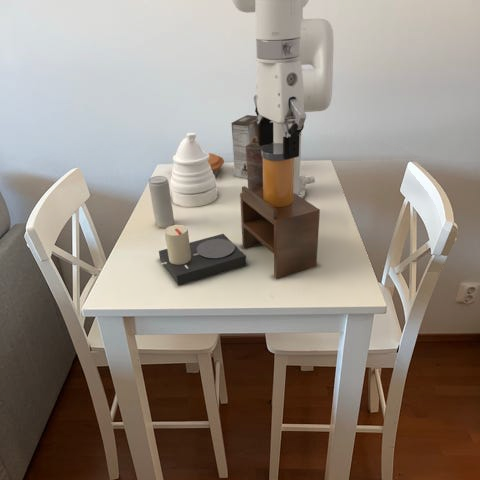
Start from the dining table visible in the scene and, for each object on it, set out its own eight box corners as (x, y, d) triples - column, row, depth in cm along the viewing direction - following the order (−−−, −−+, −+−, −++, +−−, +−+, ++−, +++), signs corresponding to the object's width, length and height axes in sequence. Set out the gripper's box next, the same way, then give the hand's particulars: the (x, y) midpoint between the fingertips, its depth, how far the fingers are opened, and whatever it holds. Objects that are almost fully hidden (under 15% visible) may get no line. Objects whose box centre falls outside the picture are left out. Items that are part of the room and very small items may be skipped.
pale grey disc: (225, 236, 109) (225, 235, 108) (241, 252, 102) (241, 251, 102) (191, 246, 106) (190, 244, 106) (205, 262, 100) (205, 261, 99)
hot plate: (223, 242, 111) (223, 232, 110) (246, 265, 103) (246, 255, 101) (153, 262, 106) (152, 252, 104) (171, 288, 97) (169, 277, 96)
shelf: (279, 236, 113) (279, 175, 103) (316, 266, 101) (320, 200, 92) (242, 246, 110) (239, 185, 100) (276, 278, 98) (276, 212, 89)
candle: (244, 228, 117) (241, 147, 105) (254, 215, 122) (251, 137, 110) (274, 231, 115) (273, 149, 102) (282, 218, 120) (283, 139, 108)
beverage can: (171, 229, 119) (164, 183, 111) (153, 228, 119) (145, 182, 112) (176, 220, 122) (170, 175, 115) (159, 219, 123) (152, 175, 116)
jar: (283, 192, 101) (284, 141, 94) (300, 203, 96) (301, 149, 89) (256, 198, 99) (255, 147, 92) (272, 210, 94) (271, 156, 87)
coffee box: (249, 166, 151) (247, 114, 141) (266, 169, 148) (265, 116, 138) (233, 176, 145) (230, 122, 135) (251, 179, 142) (249, 124, 132)
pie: (173, 184, 142) (171, 168, 139) (178, 166, 154) (176, 151, 151) (224, 181, 142) (223, 165, 139) (225, 163, 154) (224, 148, 151)
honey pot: (225, 198, 132) (220, 132, 121) (184, 210, 127) (176, 143, 116) (203, 184, 141) (197, 122, 130) (164, 195, 135) (155, 131, 124)
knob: (165, 257, 102) (160, 227, 98) (186, 251, 104) (181, 221, 99) (174, 267, 99) (169, 236, 94) (194, 260, 101) (191, 230, 96)
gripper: (325, 53, 75) (319, 159, 86) (272, 42, 88) (273, 136, 98) (284, 58, 73) (283, 167, 83) (236, 47, 85) (241, 143, 96)
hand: (277, 150), depth 91 cm, fingers open, 9 cm apart
